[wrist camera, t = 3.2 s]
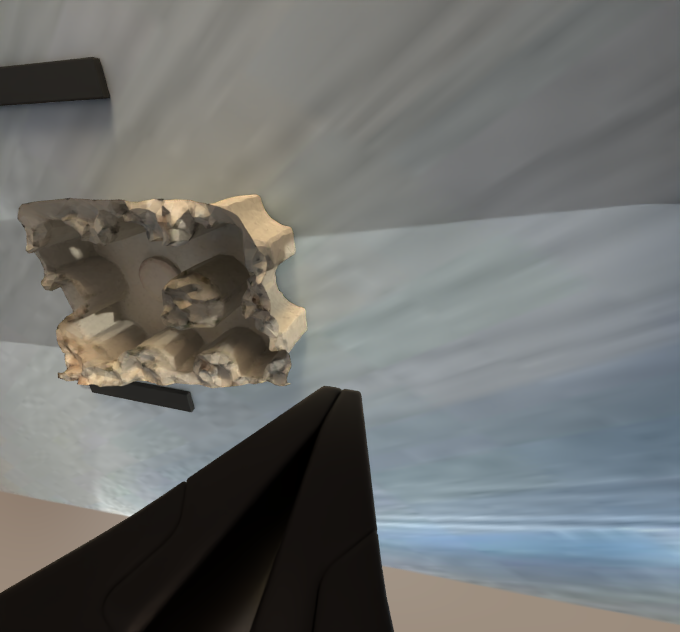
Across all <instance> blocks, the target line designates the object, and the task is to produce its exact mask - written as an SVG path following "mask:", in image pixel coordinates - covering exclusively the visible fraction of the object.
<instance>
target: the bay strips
mask: <svg viewBox="0 0 680 632" xmlns="http://www.w3.org/2000/svg"><path fill="white" fill-rule="evenodd" d="M103 98H110V96H109V92H108V89H107V85H106V81H105V78H104V74H103V70H102V67H101V63H100V59H98V58H94V57H89V58H80V59H70V60H61V61H52V62H43V63H34V64H25V65H15V66H6V67H0V106H3V105H17V104H31V103H46V102H60V101H74V100H89V99H103ZM89 386H90V388H91V390H92V392H94V393H99V394H104V395H109V396H114V397H119V398H124V399H129V400H133V401H138V402H143V403H148V404H153V405H158V406H163V407H168V408H173V409H178V410H183V411H188V412H192V411H193V410H194V405H193V401H192V398H191V394H190V392H187V391H182V390H176V389H171V388H166V387H160V386H155V385H149V384H144V383H139V382H132V383H130V384H127V385H124V386H103V387H99V386H98V385H95V384H89Z"/></svg>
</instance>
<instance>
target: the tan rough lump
mask: <svg viewBox="0 0 680 632" xmlns="http://www.w3.org/2000/svg"><path fill="white" fill-rule="evenodd" d="M18 220H19V221H20V222H21V223H22V225H23V227H24V228H25V231H26V233H27V247H26V251H27V252H28V253H33V252H34V253H35V254H36V255H37V257H38V258H39V259H40V261H41V263H42V265H43V268H44V274H45V276H44V278H43V280H42V281H41V285H42V286H43V287H44V289H45V290H50V291H53V290H55V289H57V288H59V287H61V288H62V289H63V291H64V294H65V296H66V298H67V300H68V302H69V304H70V305H71V307H72V309H73V313H72V314H70V315H69V316H66V318H65V319H64V320H63V321H62V322H61V323H60V324H59V325H58V327H57V330H56V335H57V341H58V344H59V346H60V348H61V350H62V352H63V353H65V362H66V366H67V370H66V371H65V372H64V373H58V378H60V379H64V380H65V381H74V380H77V381H78V383H77V384H81V385H89V384H95V385H98V386H99V387H103V386H124V385H127V384H130V383H132V382H134V381H148V382H152V383H156V384H157V385H162V386H166V385H170V384H173V383H182V384H200V385H203V386H207V387H210V388H218V387H230V386H239V385H244V384H248V383H251V384H258V383H262V382H266V381H268V382H271V383H273V384H275V385H278V386H286V385H289V383H287V375H288V372H289V370H290V368H291V361H290V356H289V352H290V351H291V349H292V348H293V346H294V345H295V343H296V342H297V341H298V340H299V339H300V338H301V336H302V335H303V334H304V333H305V332H306V331H307V322H306V310H305V309H304V308H303V307H297V306H296V305H294V304H292V303H290V302H289V301H288V300H287V299H286V298H285V297H284V296H283V294H282V293H281V292H280V291H279V290H278V287H277V284H276V276H275V271H276V269H277V267H278V265H279V264H280V263H282V262H283V261H284V260H286V259H287V258H289V257H291V256H292V255H294V254H295V244H294V237H293V234H294V233H293V231H292V228H291V227H288V226H283V225H281V224H279V223H278V222H276V221H275V220H273V219H272V218H271V217H270V216H269V215H268V213H267V212H266V211H265V209H264V207H263V204H262V201H261V198H260V196H258V195H244V196H236V197H232V198H228V199H225V200H222V201H218V202H217V203H212V204H206V203H199V202H195V201H192V200H177V199H175V200H166V201H163V199H152V200H147V201H141V202H128V201H125V200H89V199H73V198H67V199H57V200H47V201H38V202H31V203H26V204H22V205H21V206H20V207H19V212H18Z"/></svg>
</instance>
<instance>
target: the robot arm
mask: <svg viewBox="0 0 680 632" xmlns="http://www.w3.org/2000/svg"><path fill="white" fill-rule="evenodd" d="M0 632H394V630H393V625H392V620H391V616H390V611H389V606H388V602H387V597H386V590H385V584H384V578H383V570H382V564H381V557H380V548H379V540H378V534H377V525H376V516H375V507H374V499H373V490H372V482H371V473H370V465H369V456H368V448H367V439H366V431H365V422H364V413H363V405H362V396H361V393H360V392H359V391H354V390H348V389H344V390H341V389H340V388H336V387H330V386H323V387H321V388H320V389H318V390H317V391H315V392H314V393H312V394H311V395H309V396H308V397H306V398H305V399H303V400H302V401H301V402H299V403H298V404H296V405H295V406H293V407H292V408H290V409H289V410H287V411H286V412H284V413H283V414H281V415H280V416H279V417H277V418H276V419H274V420H273V421H271V422H270V423H268V424H267V425H265V426H264V427H262V428H261V429H260V430H258V431H257V432H255V433H254V434H252V435H251V436H249V437H248V438H246V439H245V440H243V441H242V442H240V443H239V444H238V445H236V446H235V447H233V448H232V449H230V450H229V451H227V452H226V453H224V454H223V455H221V456H220V457H218V458H217V459H216V460H214V461H213V462H211V463H210V464H208V465H207V466H205V467H204V468H202V469H201V470H199V471H198V472H197V473H195V474H194V475H192V476H191V477H189V478H188V479H187V482H182V483H180V484H179V485H177V486H176V487H174V488H173V489H171V490H170V491H168V492H167V493H166V494H164V495H163V496H161V497H159V498H158V499H156V500H155V501H153V502H152V503H150V504H149V505H147V506H146V507H144V508H143V509H141V510H140V511H138V512H137V513H135V514H133V515H132V516H130V517H129V518H127V519H125V520H124V521H122V522H120V523H119V524H117V525H115V526H114V527H112V528H110V529H109V530H108V531H105V532H104V533H102V534H101V535H99V536H97V537H96V538H94V539H92V540H90V541H89V542H87V543H86V544H84V545H82V546H80V547H78V548H77V549H75V550H73V551H72V552H70V553H68V554H66V555H65V556H63V557H61V558H60V559H58V560H56V561H55V562H53V563H51V564H49V565H48V566H46V567H44V568H42V569H41V570H39V571H37V572H36V573H34V574H32V575H30V576H29V577H27V578H25V579H23V580H22V581H20V582H18V583H17V584H15V585H13V586H11V587H10V588H8V589H6V590H5V591H3V592H2V593H0Z"/></svg>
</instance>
